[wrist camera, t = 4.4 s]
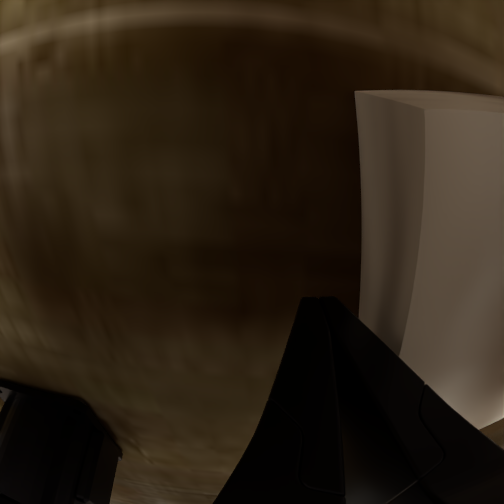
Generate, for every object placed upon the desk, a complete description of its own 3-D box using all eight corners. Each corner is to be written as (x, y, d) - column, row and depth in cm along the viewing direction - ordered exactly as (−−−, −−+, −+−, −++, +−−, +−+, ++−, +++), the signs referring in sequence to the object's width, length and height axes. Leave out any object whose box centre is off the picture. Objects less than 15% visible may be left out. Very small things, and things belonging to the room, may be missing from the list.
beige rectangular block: (348, 398, 13) (363, 467, 10) (349, 89, 6) (423, 109, 4) (493, 355, 12) (521, 408, 9) (556, 105, 6) (630, 137, 3)
